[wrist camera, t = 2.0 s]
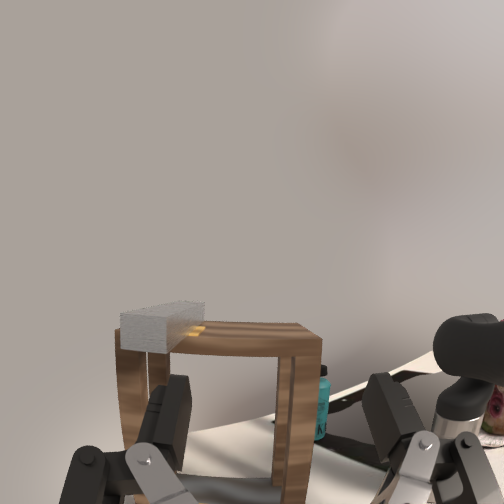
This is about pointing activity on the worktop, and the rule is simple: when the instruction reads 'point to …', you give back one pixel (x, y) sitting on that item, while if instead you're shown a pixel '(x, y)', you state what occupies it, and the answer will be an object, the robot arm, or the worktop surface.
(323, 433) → the beverage bottle
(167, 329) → the gray rectangular block
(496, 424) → the cookie jar
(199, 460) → the worktop surface
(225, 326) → the switch shelf
